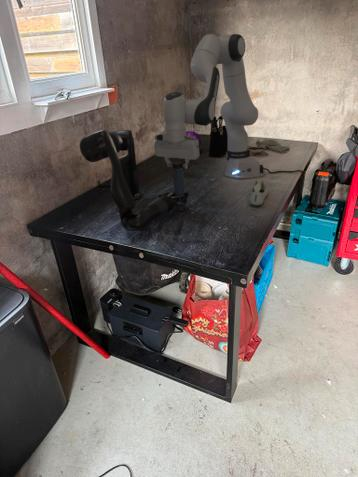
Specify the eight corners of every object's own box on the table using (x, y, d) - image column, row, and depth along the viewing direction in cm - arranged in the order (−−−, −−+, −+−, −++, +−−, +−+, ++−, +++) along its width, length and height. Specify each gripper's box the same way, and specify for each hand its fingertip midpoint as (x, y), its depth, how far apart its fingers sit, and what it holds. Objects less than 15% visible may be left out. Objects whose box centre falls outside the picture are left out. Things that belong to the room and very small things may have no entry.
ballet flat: (269, 188, 169) (270, 173, 165) (265, 208, 149) (266, 191, 145) (252, 187, 171) (253, 172, 167) (246, 206, 151) (247, 190, 147)
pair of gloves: (254, 158, 214) (255, 150, 211) (233, 150, 234) (233, 142, 232) (291, 151, 223) (292, 143, 221) (268, 143, 244) (269, 136, 241)
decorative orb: (204, 151, 235) (204, 129, 228) (194, 156, 225) (193, 134, 217) (186, 149, 243) (186, 128, 235) (175, 154, 232) (174, 132, 224)
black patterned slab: (219, 158, 219) (220, 119, 206) (207, 156, 223) (207, 118, 211) (232, 150, 234) (233, 113, 221) (221, 149, 238) (221, 112, 226)
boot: (223, 139, 261) (223, 113, 251) (220, 148, 241) (220, 119, 231) (212, 139, 263) (212, 113, 253) (208, 147, 242) (208, 119, 232)
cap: (174, 165, 146) (174, 161, 145) (184, 165, 145) (183, 161, 144) (171, 168, 143) (171, 164, 142) (181, 169, 141) (181, 164, 140)
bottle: (173, 209, 153) (170, 165, 142) (178, 206, 156) (175, 162, 146) (182, 211, 151) (180, 166, 141) (186, 207, 154) (184, 163, 144)
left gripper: (173, 202, 135) (195, 188, 147) (146, 195, 142) (170, 183, 154) (174, 218, 139) (196, 203, 151) (148, 211, 146) (171, 198, 158)
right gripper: (201, 135, 135) (202, 167, 142) (158, 132, 144) (161, 163, 151) (195, 138, 130) (196, 172, 137) (151, 135, 139) (154, 167, 146)
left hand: (182, 193), depth 152 cm, fingers closed on bottle, 4 cm apart
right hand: (177, 167), depth 144 cm, fingers open, 6 cm apart
